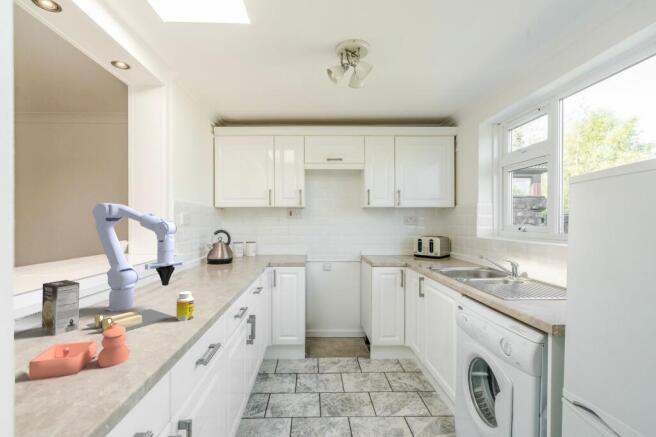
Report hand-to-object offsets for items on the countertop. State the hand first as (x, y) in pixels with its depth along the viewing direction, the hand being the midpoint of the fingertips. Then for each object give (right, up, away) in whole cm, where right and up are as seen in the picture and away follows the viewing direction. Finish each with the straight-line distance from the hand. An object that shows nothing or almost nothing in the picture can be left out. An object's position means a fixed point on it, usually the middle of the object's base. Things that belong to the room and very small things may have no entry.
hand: (165, 285), depth 116 cm
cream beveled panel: (-5, -9, -17) cm, 20 cm away
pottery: (+5, -11, -43) cm, 44 cm away
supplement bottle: (+13, -11, -11) cm, 20 cm away
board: (-4, -10, -14) cm, 18 cm away
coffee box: (-21, -10, -22) cm, 32 cm away
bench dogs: (-8, -9, -22) cm, 25 cm away
